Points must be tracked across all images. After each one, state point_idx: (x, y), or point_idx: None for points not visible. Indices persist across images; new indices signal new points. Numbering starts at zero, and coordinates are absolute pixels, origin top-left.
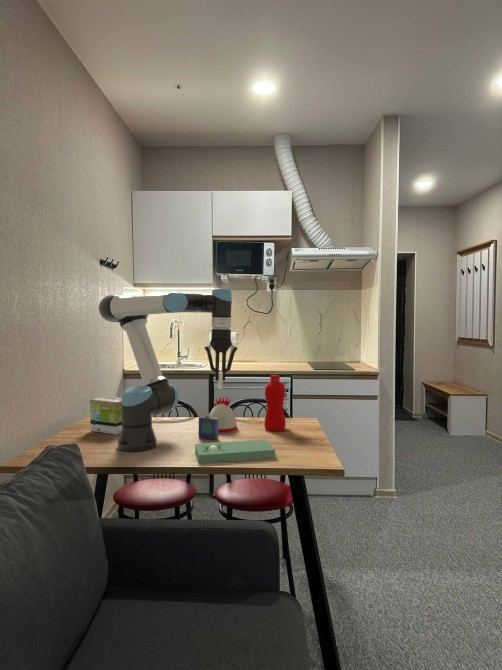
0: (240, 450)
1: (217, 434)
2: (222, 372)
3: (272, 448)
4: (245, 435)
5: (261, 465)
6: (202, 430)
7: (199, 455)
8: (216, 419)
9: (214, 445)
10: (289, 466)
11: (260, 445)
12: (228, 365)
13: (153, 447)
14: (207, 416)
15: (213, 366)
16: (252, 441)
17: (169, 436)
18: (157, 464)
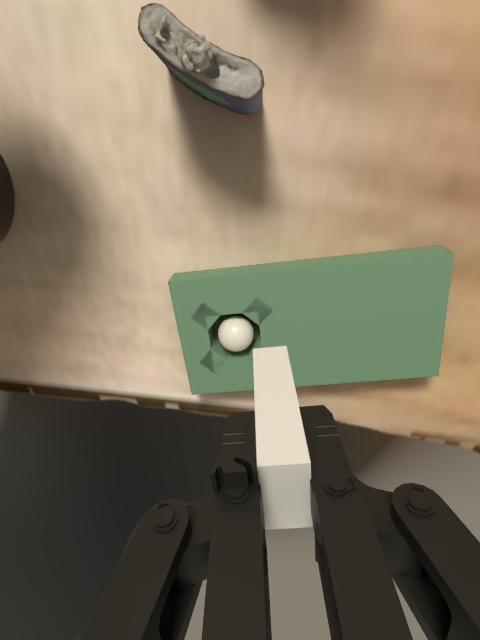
0: (323, 369)
1: (257, 107)
2: (312, 514)
3: (434, 363)
4: (404, 36)
5: (366, 411)
6: (179, 76)
7: (194, 393)
8: (251, 98)
9: (239, 339)
10: (438, 426)
11: (404, 327)
12: (431, 635)
13: (11, 218)
14: (194, 66)
15: (183, 627)
16: (389, 276)
17: (16, 13)
18: (82, 373)
